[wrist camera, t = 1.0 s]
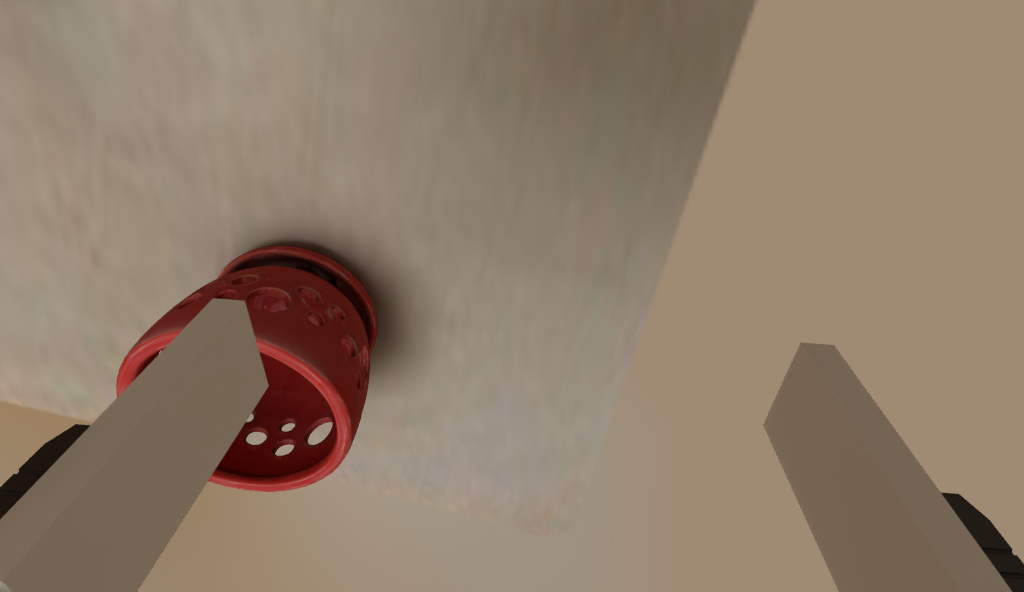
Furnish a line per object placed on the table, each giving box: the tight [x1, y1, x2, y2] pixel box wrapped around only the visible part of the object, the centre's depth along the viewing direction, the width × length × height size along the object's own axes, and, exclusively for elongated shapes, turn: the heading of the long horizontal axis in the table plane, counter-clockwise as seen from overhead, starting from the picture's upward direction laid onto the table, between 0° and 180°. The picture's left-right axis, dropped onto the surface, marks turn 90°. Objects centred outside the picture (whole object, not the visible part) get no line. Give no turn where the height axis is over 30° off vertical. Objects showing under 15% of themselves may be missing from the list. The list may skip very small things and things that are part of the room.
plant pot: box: [116, 246, 377, 492], centre depth 35 cm, size 13×13×12 cm
